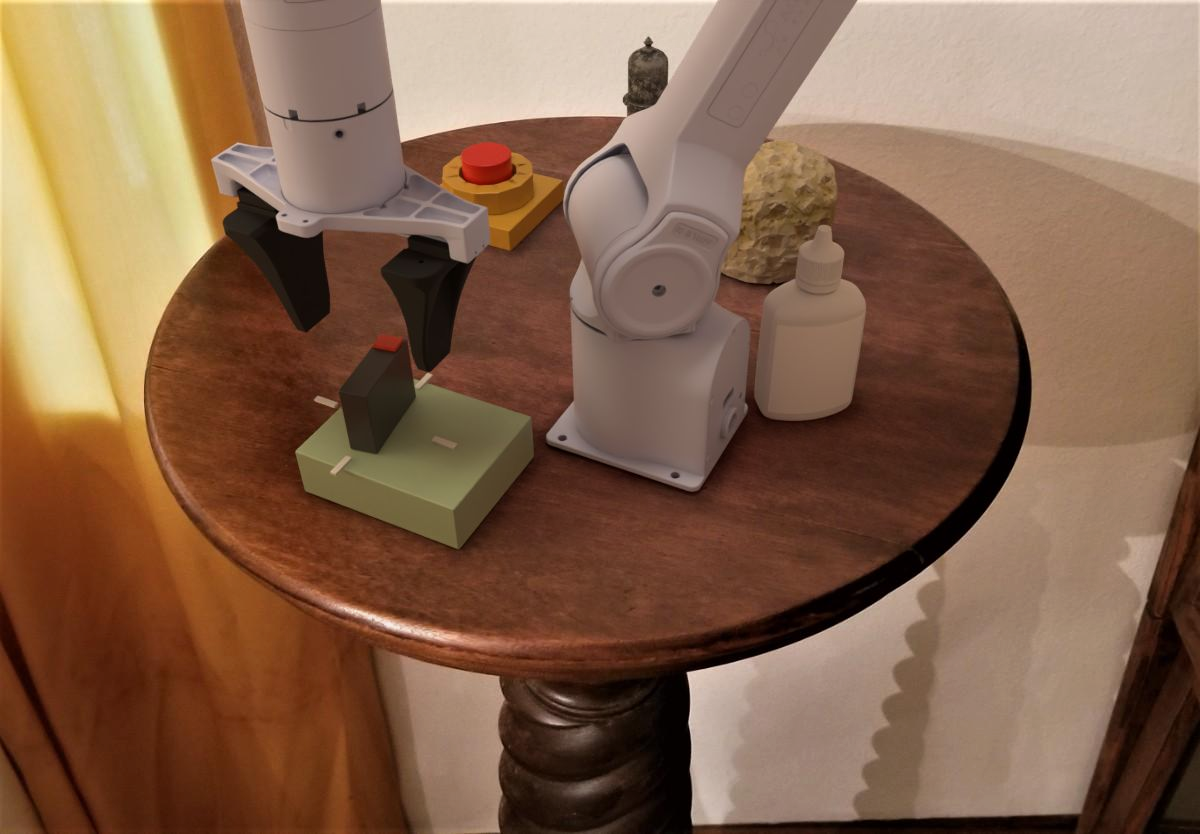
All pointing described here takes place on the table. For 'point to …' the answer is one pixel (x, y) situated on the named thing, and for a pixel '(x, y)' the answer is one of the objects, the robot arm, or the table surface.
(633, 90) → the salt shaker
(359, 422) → the knob
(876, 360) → the table surface
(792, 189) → the coral
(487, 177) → the button
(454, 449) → the panel
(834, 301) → the eye dropper bottle
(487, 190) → the button box
